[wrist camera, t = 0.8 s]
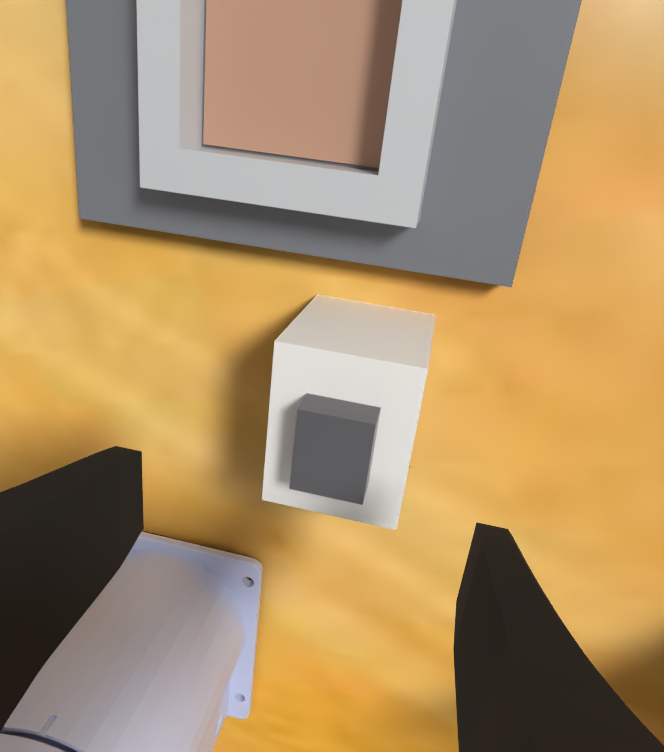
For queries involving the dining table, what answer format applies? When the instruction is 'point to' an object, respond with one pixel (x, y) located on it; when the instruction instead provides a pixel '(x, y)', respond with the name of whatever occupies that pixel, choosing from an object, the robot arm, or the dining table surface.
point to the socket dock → (321, 123)
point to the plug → (346, 408)
